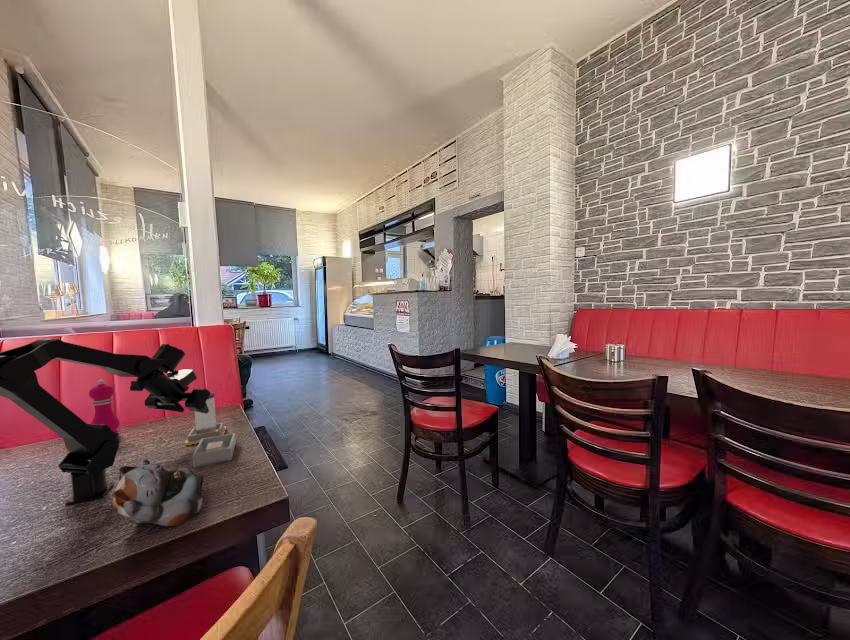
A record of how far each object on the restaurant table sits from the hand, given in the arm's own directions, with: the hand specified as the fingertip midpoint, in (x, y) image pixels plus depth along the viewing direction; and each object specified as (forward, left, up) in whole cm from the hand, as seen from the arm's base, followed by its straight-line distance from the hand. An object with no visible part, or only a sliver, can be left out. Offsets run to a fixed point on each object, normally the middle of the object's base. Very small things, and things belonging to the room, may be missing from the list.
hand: (195, 411), depth 107 cm
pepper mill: (+18, +29, -10) cm, 36 cm away
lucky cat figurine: (-42, -2, -10) cm, 43 cm away
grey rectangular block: (+3, -2, -9) cm, 10 cm away
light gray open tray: (-14, -7, -10) cm, 19 cm away
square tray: (+3, -2, -10) cm, 11 cm away
